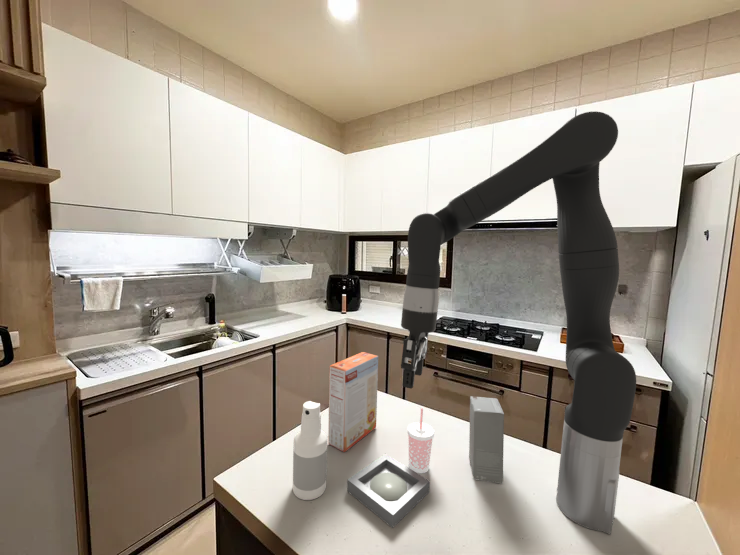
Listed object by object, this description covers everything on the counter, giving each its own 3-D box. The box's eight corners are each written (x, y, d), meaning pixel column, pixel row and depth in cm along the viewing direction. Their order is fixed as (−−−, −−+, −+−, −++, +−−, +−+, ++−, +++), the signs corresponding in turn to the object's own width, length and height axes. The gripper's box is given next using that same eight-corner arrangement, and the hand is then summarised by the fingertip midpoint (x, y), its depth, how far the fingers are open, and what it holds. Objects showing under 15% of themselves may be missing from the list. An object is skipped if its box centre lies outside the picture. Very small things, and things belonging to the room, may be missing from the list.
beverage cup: (417, 479, 68) (421, 418, 67) (400, 462, 73) (403, 405, 72) (437, 469, 72) (441, 411, 70) (419, 454, 77) (422, 399, 76)
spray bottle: (285, 494, 63) (287, 408, 61) (304, 472, 69) (305, 394, 67) (315, 505, 60) (318, 416, 59) (332, 481, 67) (334, 400, 65)
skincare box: (503, 485, 68) (509, 415, 66) (468, 479, 69) (473, 410, 68) (495, 460, 76) (500, 397, 74) (465, 455, 77) (469, 393, 76)
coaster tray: (429, 492, 65) (429, 480, 65) (392, 528, 56) (393, 515, 56) (385, 463, 73) (385, 453, 73) (347, 490, 64) (347, 479, 64)
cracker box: (359, 420, 91) (362, 350, 89) (376, 428, 87) (380, 355, 85) (326, 444, 79) (328, 364, 78) (344, 453, 76) (347, 370, 74)
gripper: (431, 314, 60) (422, 396, 61) (442, 306, 73) (435, 374, 74) (394, 309, 63) (386, 387, 64) (411, 302, 76) (404, 367, 77)
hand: (412, 380), depth 69 cm, fingers open, 8 cm apart
